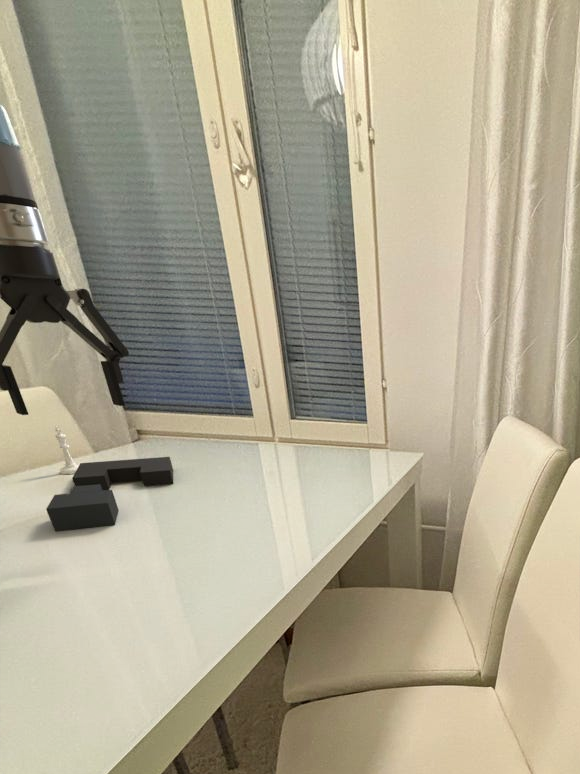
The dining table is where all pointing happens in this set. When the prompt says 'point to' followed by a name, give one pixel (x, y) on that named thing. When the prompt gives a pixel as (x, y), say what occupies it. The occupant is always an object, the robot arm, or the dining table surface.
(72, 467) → the chess piece
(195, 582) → the dining table surface
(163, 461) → the notch mat
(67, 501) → the pad
